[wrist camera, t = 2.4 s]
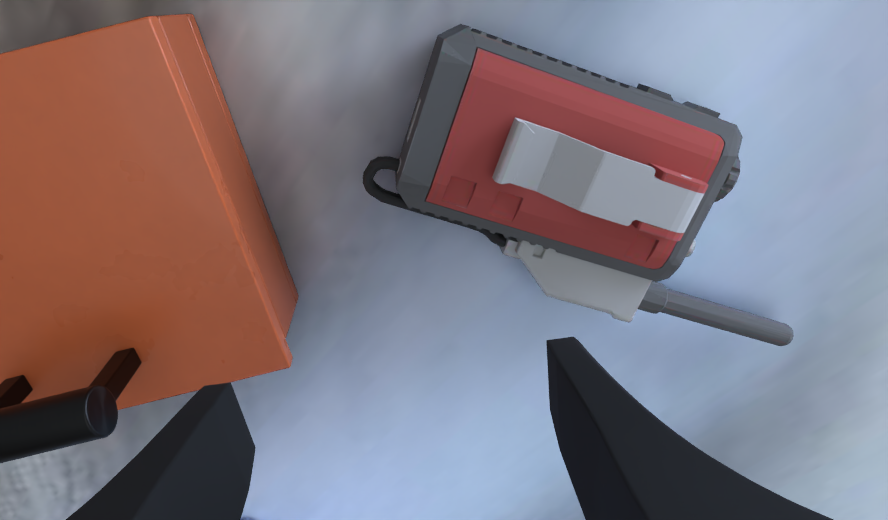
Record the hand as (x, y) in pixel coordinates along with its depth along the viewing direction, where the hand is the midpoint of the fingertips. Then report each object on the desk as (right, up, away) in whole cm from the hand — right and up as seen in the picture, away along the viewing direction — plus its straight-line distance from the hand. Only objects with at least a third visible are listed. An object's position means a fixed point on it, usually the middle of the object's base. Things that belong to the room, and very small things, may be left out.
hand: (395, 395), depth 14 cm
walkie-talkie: (+8, +6, +11) cm, 15 cm away
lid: (-13, +3, +7) cm, 15 cm away
